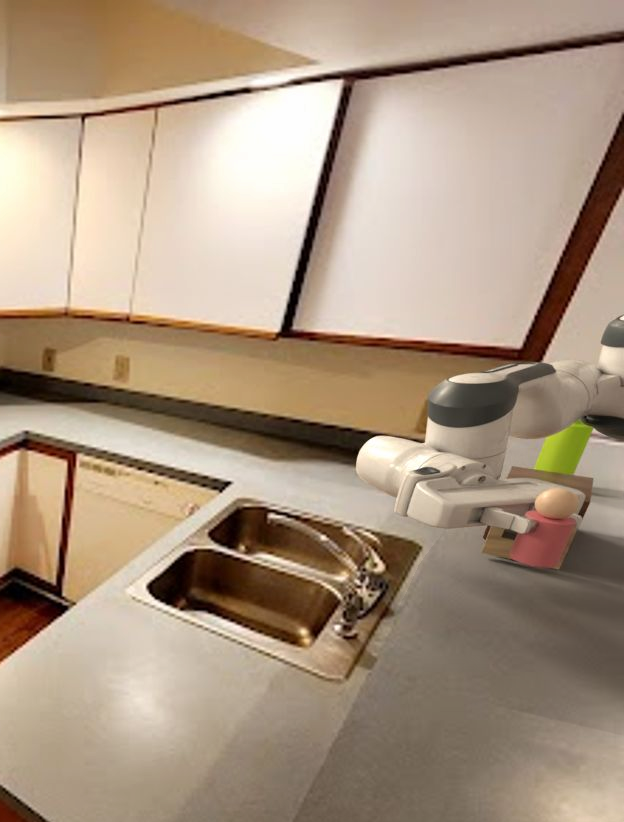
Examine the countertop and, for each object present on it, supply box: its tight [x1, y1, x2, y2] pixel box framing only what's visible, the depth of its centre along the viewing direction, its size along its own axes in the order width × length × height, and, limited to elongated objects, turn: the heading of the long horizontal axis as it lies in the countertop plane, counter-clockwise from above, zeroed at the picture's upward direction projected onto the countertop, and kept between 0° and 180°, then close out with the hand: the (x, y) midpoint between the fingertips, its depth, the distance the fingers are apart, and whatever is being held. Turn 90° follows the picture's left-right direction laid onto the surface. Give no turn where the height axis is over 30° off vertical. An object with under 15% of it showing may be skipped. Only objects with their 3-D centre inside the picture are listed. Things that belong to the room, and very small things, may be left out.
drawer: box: [480, 526, 579, 571], centre depth 100 cm, size 18×9×8 cm, turn 134°
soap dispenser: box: [533, 418, 594, 475], centre depth 123 cm, size 6×7×20 cm
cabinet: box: [482, 466, 594, 556], centre depth 107 cm, size 14×10×9 cm
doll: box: [509, 489, 579, 569], centre depth 78 cm, size 5×5×10 cm
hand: (553, 526), depth 78 cm, fingers closed on doll, 4 cm apart
